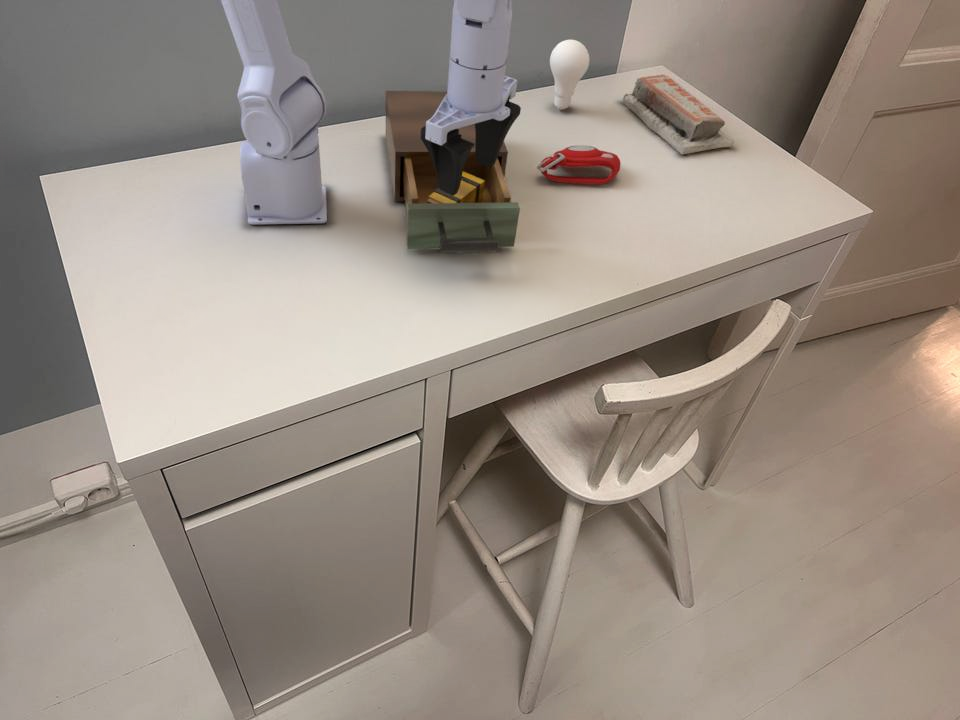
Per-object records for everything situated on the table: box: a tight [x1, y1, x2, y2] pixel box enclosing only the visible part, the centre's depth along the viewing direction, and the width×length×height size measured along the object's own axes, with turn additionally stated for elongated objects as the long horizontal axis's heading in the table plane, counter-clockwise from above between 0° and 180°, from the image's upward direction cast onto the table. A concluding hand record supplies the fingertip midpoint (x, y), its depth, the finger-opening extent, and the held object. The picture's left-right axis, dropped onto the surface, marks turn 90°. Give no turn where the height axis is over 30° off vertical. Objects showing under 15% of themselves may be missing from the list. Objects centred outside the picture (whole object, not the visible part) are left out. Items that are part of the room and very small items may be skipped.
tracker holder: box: [536, 145, 621, 185], centre depth 103 cm, size 12×4×10 cm
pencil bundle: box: [427, 171, 485, 203], centre depth 91 cm, size 8×4×4 cm, turn 148°
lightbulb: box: [549, 39, 590, 111], centre depth 115 cm, size 6×6×11 cm
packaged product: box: [622, 74, 735, 155], centre depth 117 cm, size 18×5×10 cm
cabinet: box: [385, 90, 509, 203], centre depth 100 cm, size 16×14×7 cm
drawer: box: [401, 156, 521, 254], centre depth 90 cm, size 20×13×6 cm, turn 10°
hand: (467, 176), depth 82 cm, fingers open, 7 cm apart
